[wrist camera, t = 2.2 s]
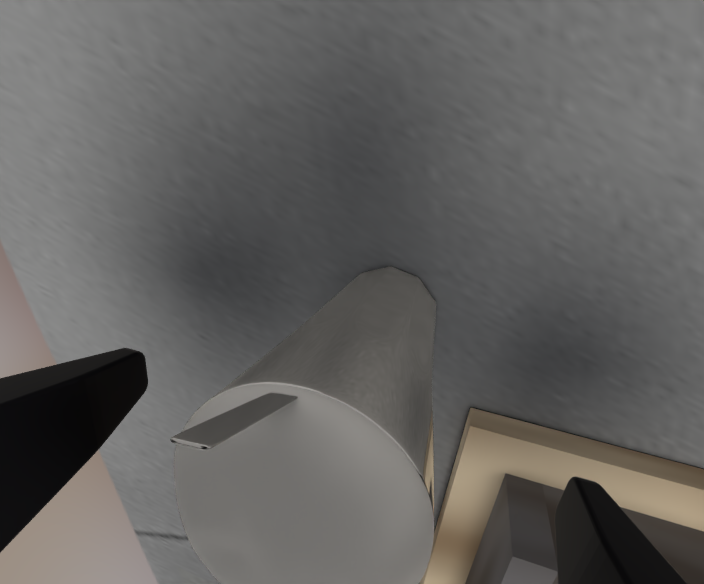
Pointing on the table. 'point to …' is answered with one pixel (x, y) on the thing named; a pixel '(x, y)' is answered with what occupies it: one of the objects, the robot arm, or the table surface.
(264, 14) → the table surface
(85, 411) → the robot arm
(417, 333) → the milkshake
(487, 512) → the dock
